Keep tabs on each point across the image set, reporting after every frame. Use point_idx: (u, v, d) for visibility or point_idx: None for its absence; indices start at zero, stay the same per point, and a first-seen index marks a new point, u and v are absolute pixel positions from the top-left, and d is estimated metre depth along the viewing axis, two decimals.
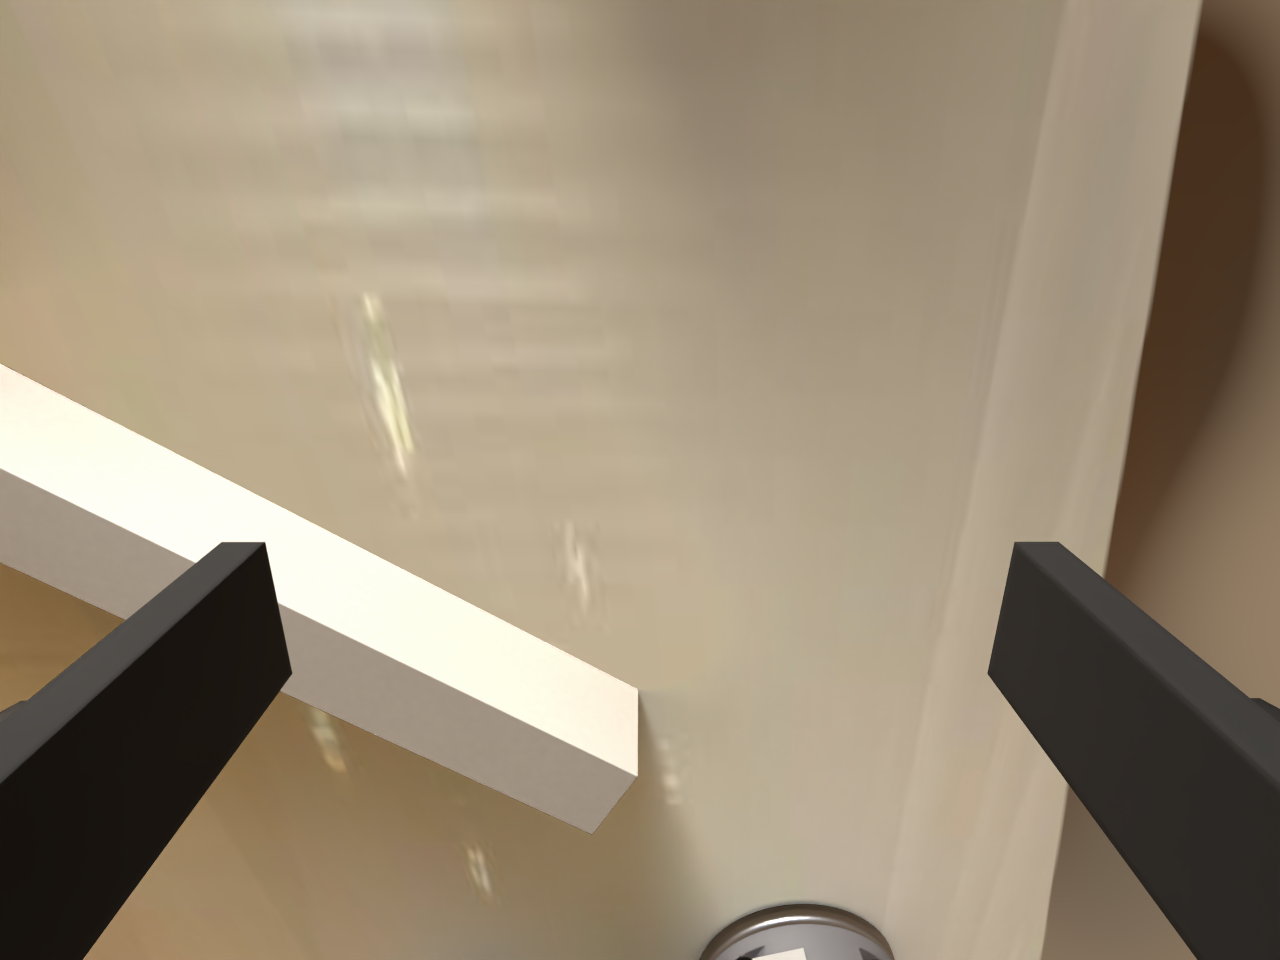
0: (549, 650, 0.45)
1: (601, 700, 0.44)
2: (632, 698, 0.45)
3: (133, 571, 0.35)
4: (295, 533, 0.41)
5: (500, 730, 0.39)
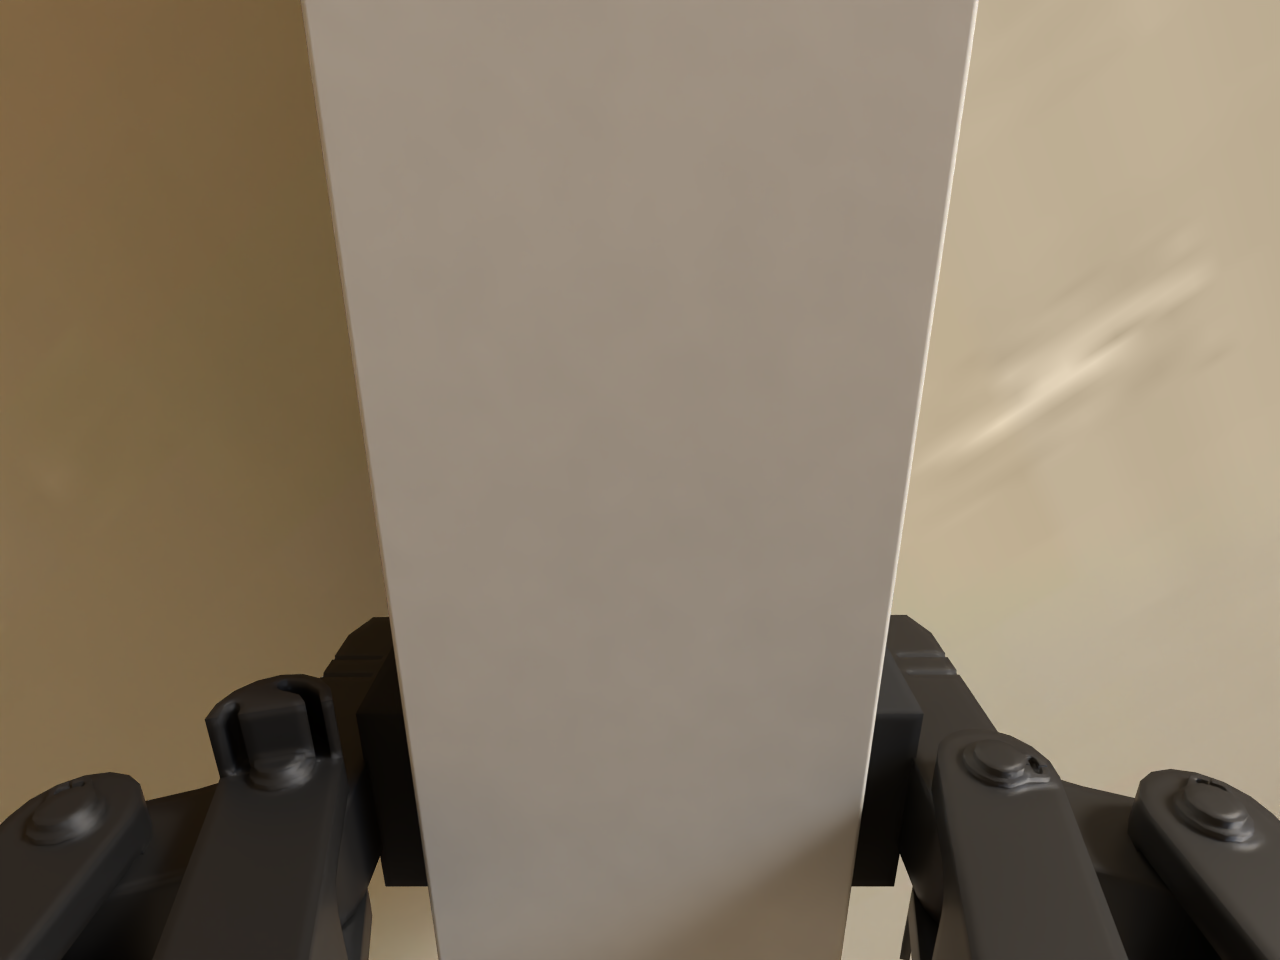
0: None
1: None
2: None
3: None
4: None
5: (774, 540, 0.07)
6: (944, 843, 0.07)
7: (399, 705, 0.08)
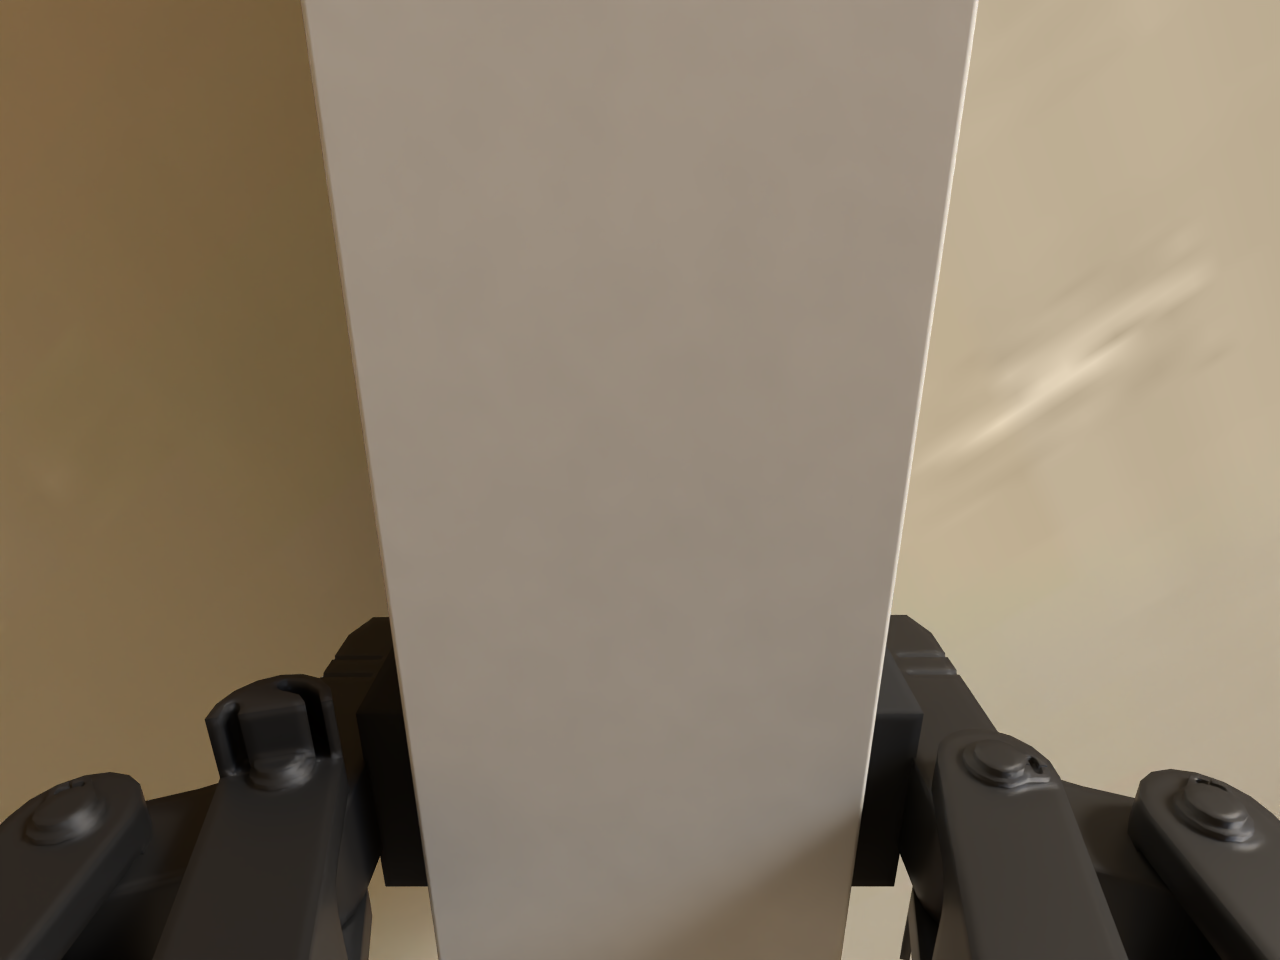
0: None
1: None
2: None
3: None
4: None
5: (773, 540, 0.07)
6: (944, 843, 0.07)
7: (399, 705, 0.08)
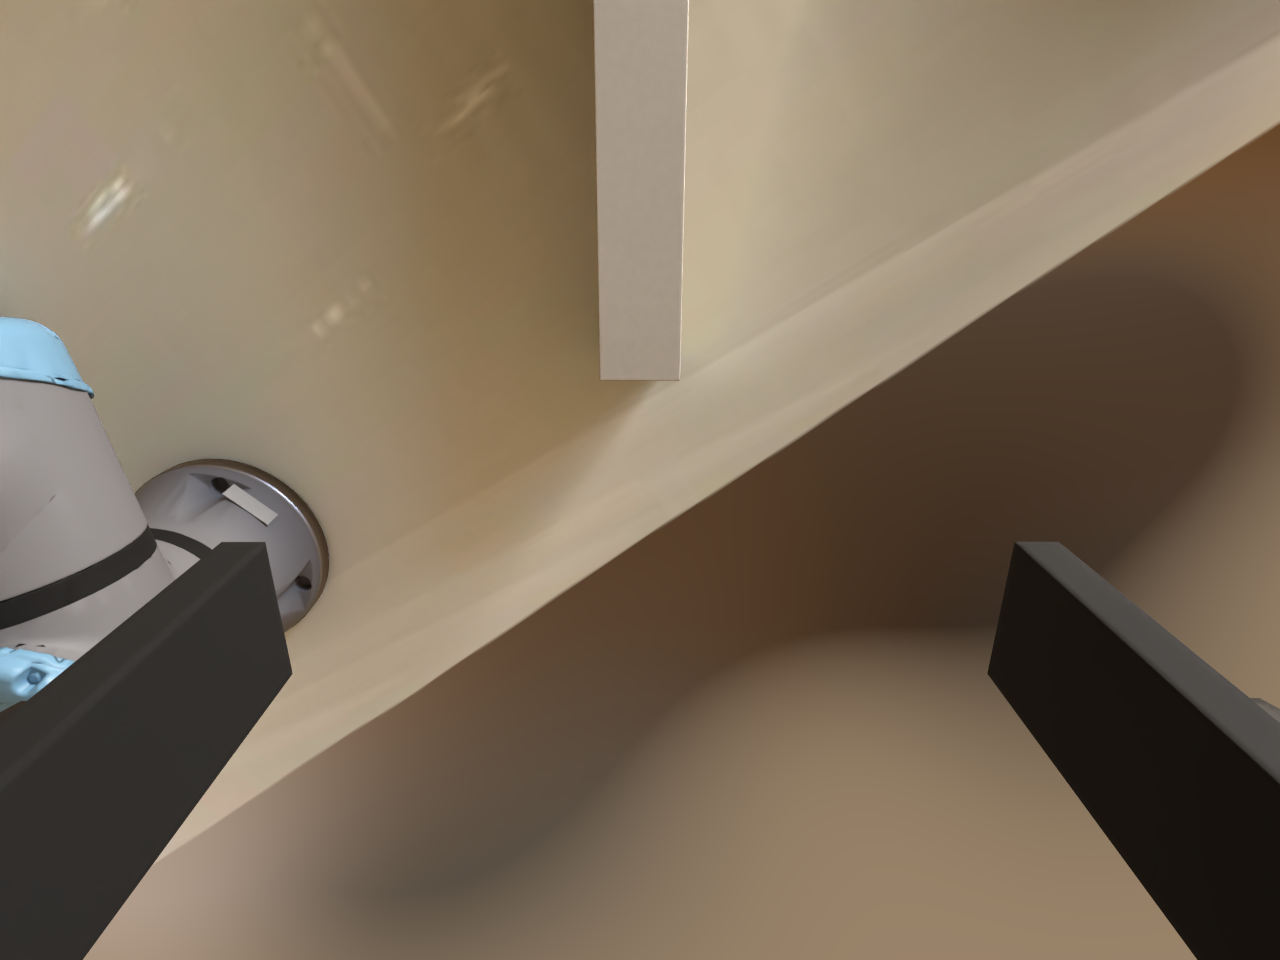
0: None
1: None
2: None
3: None
4: None
5: (662, 248, 0.42)
6: None
7: None
